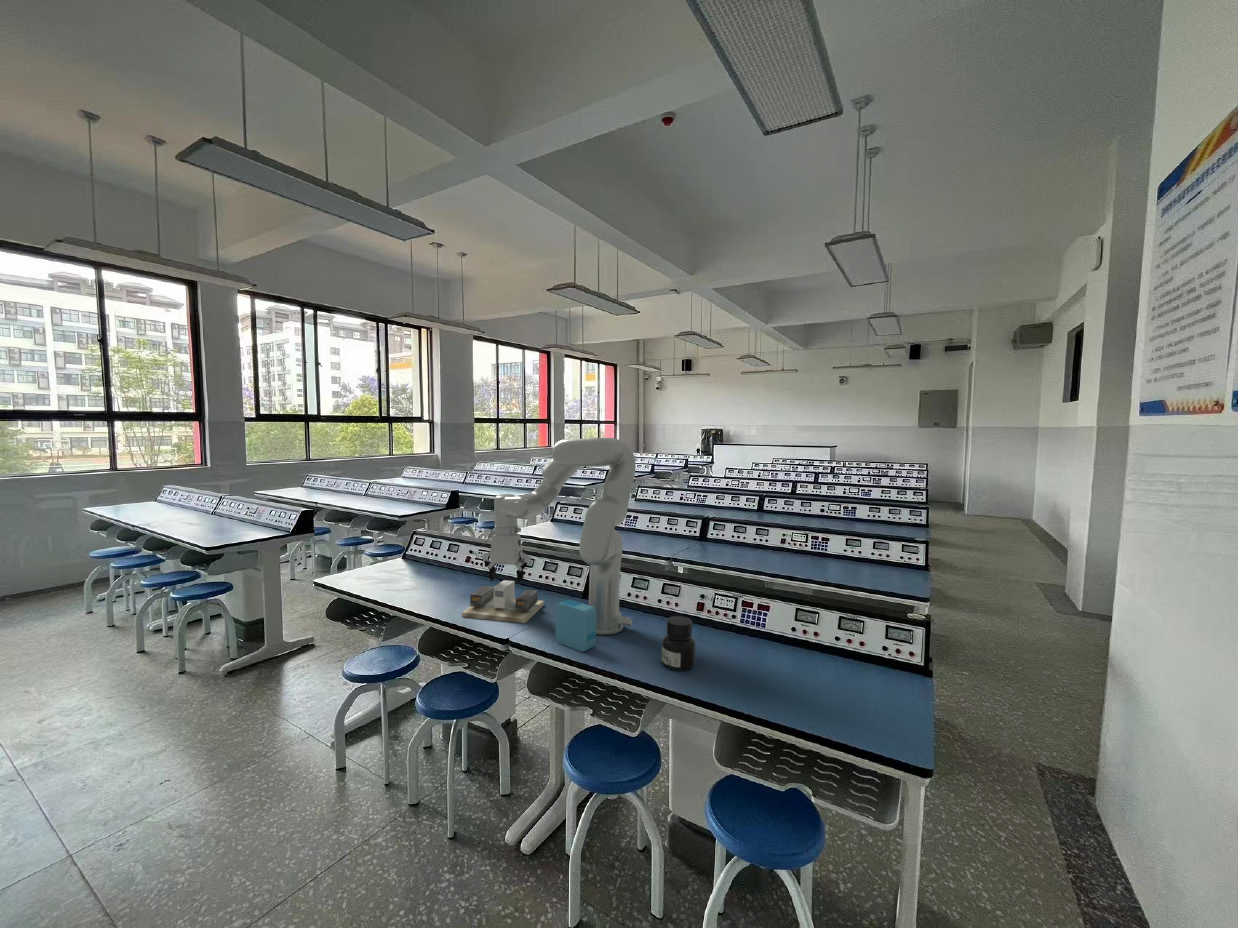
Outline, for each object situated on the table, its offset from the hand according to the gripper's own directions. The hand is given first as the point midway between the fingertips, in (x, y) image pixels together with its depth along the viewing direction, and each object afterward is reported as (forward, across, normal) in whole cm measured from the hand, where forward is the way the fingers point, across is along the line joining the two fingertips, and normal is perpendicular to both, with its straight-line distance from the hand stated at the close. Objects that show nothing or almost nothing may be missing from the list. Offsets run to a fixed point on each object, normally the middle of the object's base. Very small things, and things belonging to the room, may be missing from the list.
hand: (506, 580), depth 172 cm
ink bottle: (+12, -60, +26) cm, 67 cm away
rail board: (+10, +1, 0) cm, 11 cm away
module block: (+8, +1, 0) cm, 8 cm away
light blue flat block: (+12, -30, +21) cm, 38 cm away
